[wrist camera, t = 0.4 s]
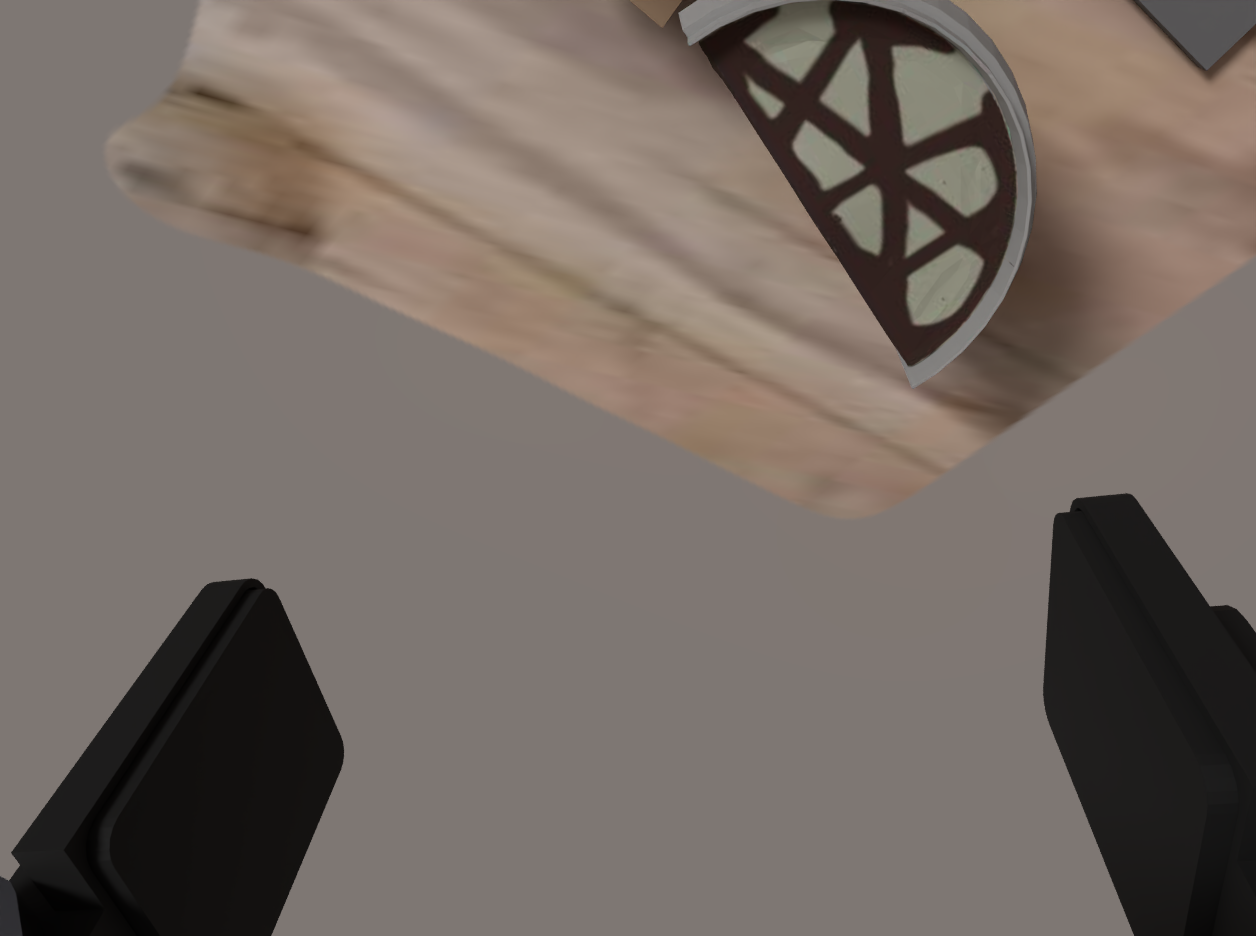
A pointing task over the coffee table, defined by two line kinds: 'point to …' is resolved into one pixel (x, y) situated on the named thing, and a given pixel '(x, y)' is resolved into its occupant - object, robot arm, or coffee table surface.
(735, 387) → the coffee table surface
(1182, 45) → the mat
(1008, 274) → the food container
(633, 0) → the walnut block
